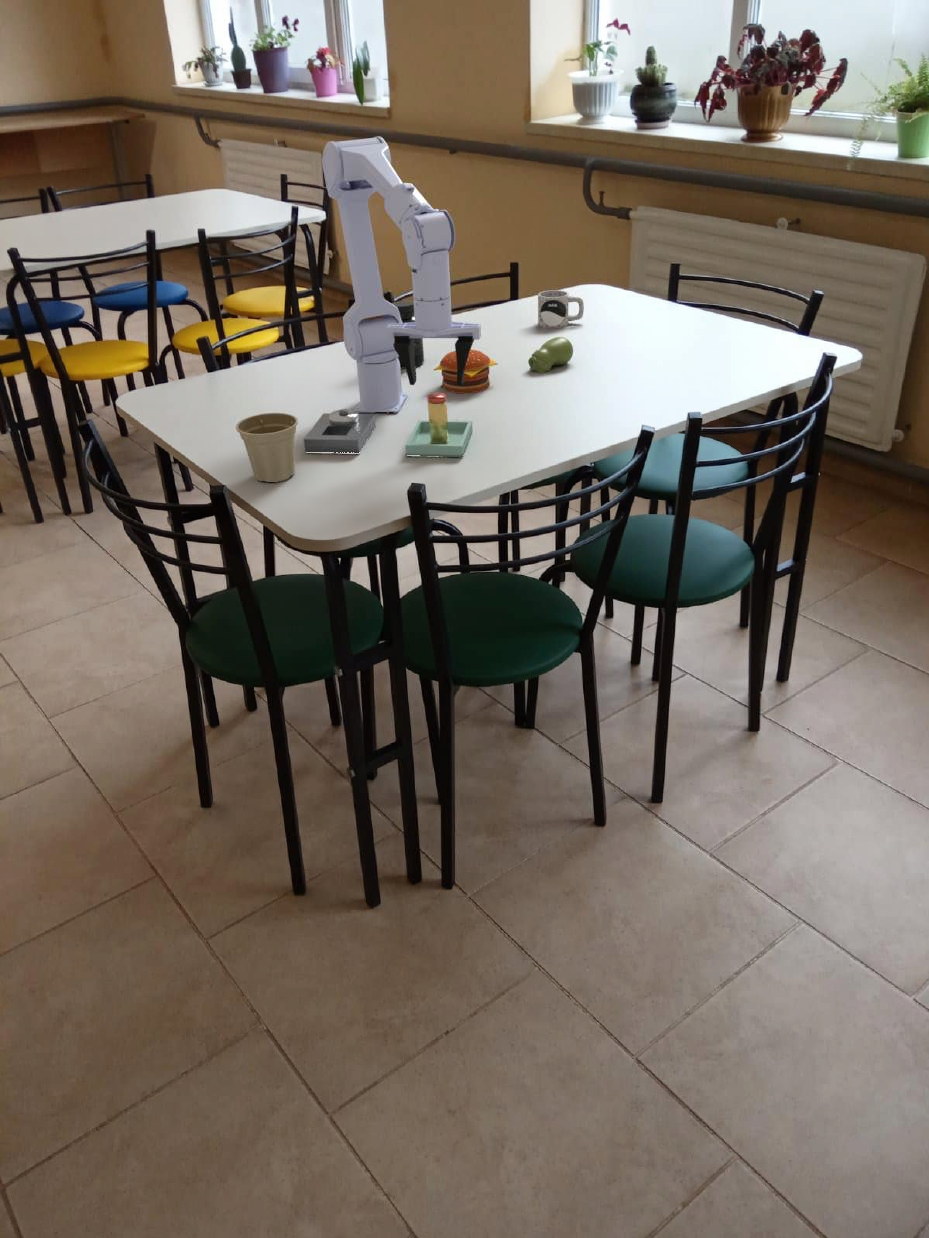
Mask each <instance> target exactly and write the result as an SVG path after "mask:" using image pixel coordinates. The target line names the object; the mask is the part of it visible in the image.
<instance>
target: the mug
mask: <svg viewBox="0 0 929 1238" xmlns="http://www.w3.org/2000/svg"><path fill="white" fill-rule="evenodd" d="M569 303H577V304H578V313H577V314H576V315H575V314H574V315H571V314H570V315H569ZM584 305H585V303H584V300H583V298H581V297H578V296H574V295H573V296H572V295H569V292H567V291H565V290H559V289H558V290H556V289H555V290H554V289H552V290H551V289H550V290H544V291H540V292H538V294H537V323H538V327H541V328H542V329H561V328H566V327H567V326H569V322H574V321H579V320H581V319H582V318H583V316H584V308H585V306H584Z"/></svg>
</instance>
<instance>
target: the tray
mask: <svg viewBox="0 0 929 1238" xmlns="http://www.w3.org/2000/svg"><path fill="white" fill-rule="evenodd" d="M472 432H473V421H472V420H448V435H449V442H448V443H447V444H431V440H430V426H429V420H427V419H426V420H417V422H416V423H415V426H414V428H413V430H412V431H411V434H410V435H409V438H408V439H407V442H406V443H405V456H406V455H420V456H439V457H441V456H442V457H463V458H464V456H465V454H464V453H466V451H467V448H468V446H469V443H470V441H469V440H471V437H472V435H473V433H472ZM468 442H469V443H468ZM467 445H468V446H467ZM465 450H466V451H465ZM463 455H464V456H463Z"/></svg>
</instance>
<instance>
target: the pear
mask: <svg viewBox="0 0 929 1238" xmlns="http://www.w3.org/2000/svg"><path fill="white" fill-rule="evenodd" d="M573 354H574V346H573V344H572V343H571V341H570V340H569V339H568V338H565V337H563V336H556V337H553V338H551V339H548V340H547V341H545V342H544V343H543V344H542V345H541V347H540V348H539V349H536V350H535V351H534V352H533V353H532V354H531V357H529V359H528V363H527V364H528V365H529V367H530V370H532V371H534V372H536V373H537V372H538V373H546V372H549V371H550V370H551V369H552V367H553V366H554V365H557V366H563V365H565V364H567V363H569V362H571V361H570V360H571V359H572V357H573Z"/></svg>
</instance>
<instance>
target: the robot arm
mask: <svg viewBox="0 0 929 1238" xmlns="http://www.w3.org/2000/svg"><path fill="white" fill-rule="evenodd" d="M321 157H322V158H321V163H322V164H321V165H322V170H323V176H324V181H325V186H326V190H327V194H328V197H329V198H331V199H333V200H335V201H336V202H337V207H338V211H339V217H340V222H341V227H342V233H343V238H344V245H345V250H346V256H347V261H348V267H349V272H350V279H351V284H352V290H353V295H354V300H355V301H354V303H352V305H351V306H350V308H349V309H348V310H347V311H346V312H345V314H344V315H343V317H342V324H343V342H344V343H343V344H344V347H345V350H346V353H347V354H348V356H349V357H350V358H351V359H353V360H354V361H356V369H357V371H356V372H357V379H358V380H357V381H358V392H359V393H358V394H359V399H360V400H359V402H358V404H357V405H356V406H355V408H354V409H353V410H356V411H358V413H375V412H387V413H388V414H390V413H389V412H394V413H393V414H395V413H396V412H397V413H399V411H400V410H401V408H402V406H403V404H404V403H405V401H406V400H407V397H408V396H409V395H408V393H407V392H403V385H402V384H403V383H402V373H401V372H402V370H401V368H400V362H399V359H398V358H397V357H400V359H401V361H402V363H403V365H404V367H405V368H404V369H405V372H406V375H407V378H408V382H409V385H410V386H414V385H415V384H416V383H417V371H416V370H417V369H416V367H415V358H414V338H423V339H457V340H456V341H455V343H454V348H455V350H454V351H456V358H457V385H462V384H463V382H464V372H465V366H466V362H467V359H468V355H469V352H470V350H472V347H473V345H474V341H476V340H480V339H481V337H482V326H481V323H471V322H470V323H469V322H459V321H452V320H453V319H452V318H453V317H452V299H451V275H450V256H449V252H450V251H452V250H453V249H454V247H455V243H456V229H455V224H454V221H453V219H452V217H451V215H450V213H449V212H448V210H447V209H440V210H439V209H438V208H435V209H434V207H432V206H431V204H429V202H428V201H427V200H426V198H424V196H423V195H422V193H421V192H419V190H418V189H417V188H416V186H414V185H413V184H412V183H411V182H409V183H408V182H403V181H402V180H401V178H400V177H399V175H398V174H397V171H396V170H395V169H394V167H393V166H392V158H391V157H392V156H391V152H390V148H389V145H388V143H387V142H386V141H385V139H384V138H383V137H382V136H374V137H370V138H360V139H350V140H343V141H342V140H340V141H330V140H329V141H327V143H326V144H325V146H324V148H323V152H322V156H321ZM375 193H379V195H380V196H382V198H383V199H384V205H383V206H384V210H385V212H386V215H388V217H389V218H390V219H391V220H392V221H393V222H394V224H395V226H397V228H398V230H400V232H401V239H402V244H403V247H404V249H405V252H406V258H407V259H406V261H407V262H406V263H407V264H408V267H410V268H411V269H410V270H411V279H412V280H411V283H412V299H413V301H412V302H414V316H415V322H410V323H402V320H401V317H400V313H399V310H398V308H397V307H396V306H394V305H393V304H392V303H391V302H390V301H388V300H386V299H385V296H384V292H383V287H382V286H383V285H382V280H381V274H380V268H379V262H378V257H377V256H378V255H377V250H376V245H375V239H374V232H373V227H372V220H371V215H370V208H369V203H368V202H369V200H370V197H371V195H373V194H375ZM379 316H382V317H380V318H376V317H379ZM369 318H372V319H369ZM373 318H374V319H373ZM364 319H368V320H364ZM362 320H363V321H362Z"/></svg>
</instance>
